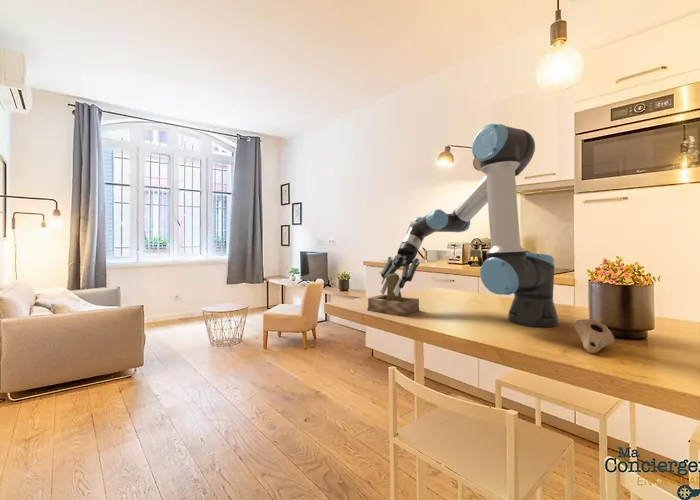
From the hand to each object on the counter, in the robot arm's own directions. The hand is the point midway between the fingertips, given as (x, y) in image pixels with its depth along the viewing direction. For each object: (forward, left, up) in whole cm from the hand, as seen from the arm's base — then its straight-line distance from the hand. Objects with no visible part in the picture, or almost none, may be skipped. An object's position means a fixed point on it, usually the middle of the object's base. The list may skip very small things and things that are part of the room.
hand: (388, 293), depth 132 cm
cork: (-1, -3, -4) cm, 5 cm away
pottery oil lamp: (-64, +4, -7) cm, 64 cm away
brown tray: (0, -4, -7) cm, 8 cm away
